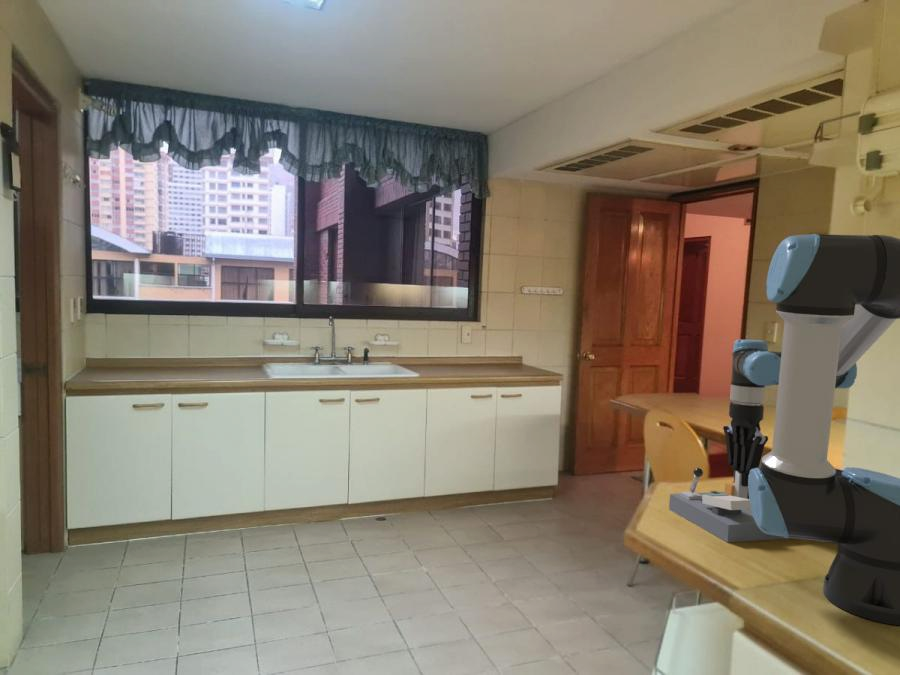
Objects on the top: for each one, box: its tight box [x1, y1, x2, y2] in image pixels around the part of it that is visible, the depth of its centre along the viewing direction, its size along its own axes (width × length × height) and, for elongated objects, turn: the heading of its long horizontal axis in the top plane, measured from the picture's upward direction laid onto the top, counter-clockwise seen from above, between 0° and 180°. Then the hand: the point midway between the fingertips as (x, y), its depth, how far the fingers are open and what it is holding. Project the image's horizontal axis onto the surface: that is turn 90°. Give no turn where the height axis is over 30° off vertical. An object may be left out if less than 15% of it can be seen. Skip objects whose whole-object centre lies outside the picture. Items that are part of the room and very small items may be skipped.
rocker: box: [702, 494, 751, 510], centre depth 141 cm, size 10×6×2 cm, turn 13°
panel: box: [668, 490, 793, 543], centre depth 146 cm, size 22×18×6 cm
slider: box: [724, 481, 735, 496], centre depth 150 cm, size 2×4×4 cm, turn 104°
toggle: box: [689, 467, 704, 493], centre depth 151 cm, size 2×2×7 cm
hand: (740, 497), depth 148 cm, fingers closed
